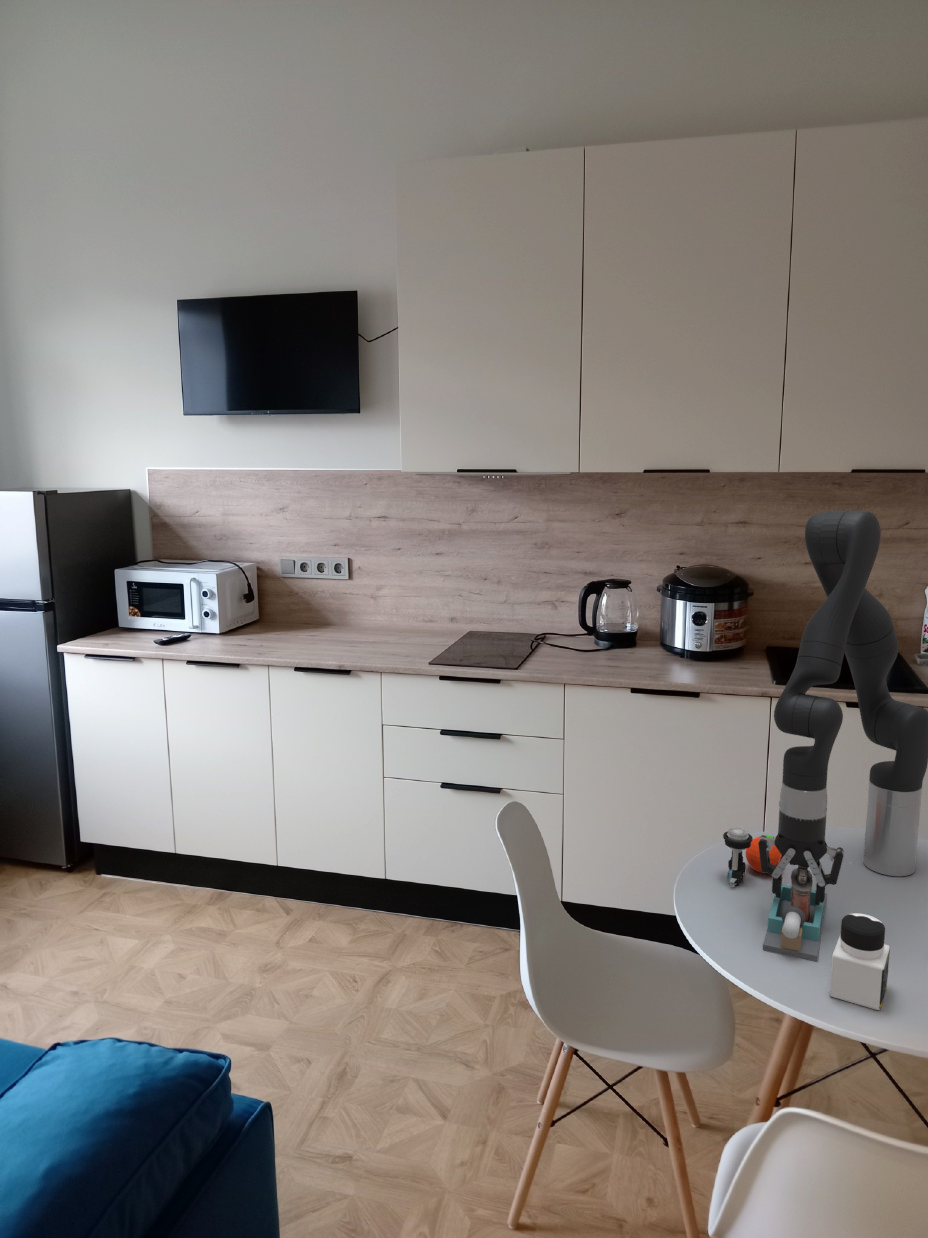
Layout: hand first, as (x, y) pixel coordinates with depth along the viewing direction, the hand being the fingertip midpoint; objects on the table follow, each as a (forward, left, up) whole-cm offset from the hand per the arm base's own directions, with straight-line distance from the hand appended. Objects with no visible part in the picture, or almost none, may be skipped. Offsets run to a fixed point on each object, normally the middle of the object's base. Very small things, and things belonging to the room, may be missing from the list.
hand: (797, 899), depth 156 cm
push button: (-11, -12, -5) cm, 17 cm away
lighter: (0, 0, -4) cm, 4 cm away
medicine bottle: (+17, +10, -5) cm, 21 cm away
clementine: (-18, -8, -5) cm, 20 cm away
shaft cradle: (0, 0, -5) cm, 5 cm away
